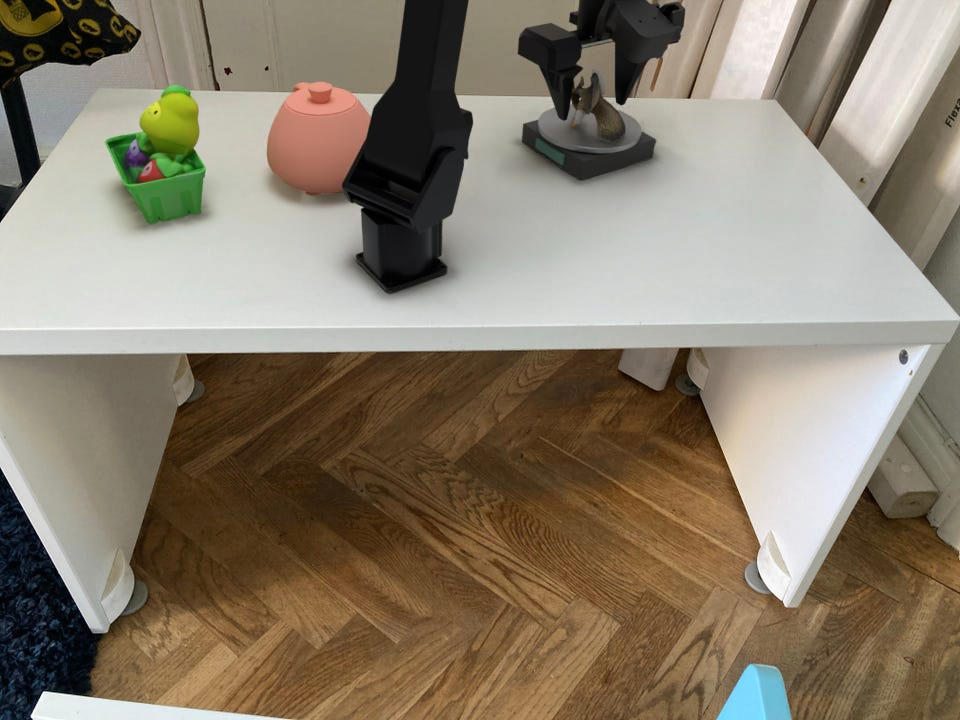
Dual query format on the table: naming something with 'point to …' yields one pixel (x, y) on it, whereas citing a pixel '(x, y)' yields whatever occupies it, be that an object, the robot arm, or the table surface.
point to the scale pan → (585, 132)
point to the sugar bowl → (316, 137)
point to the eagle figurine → (597, 108)
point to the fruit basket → (163, 158)
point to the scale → (586, 154)
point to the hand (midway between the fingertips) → (591, 111)
